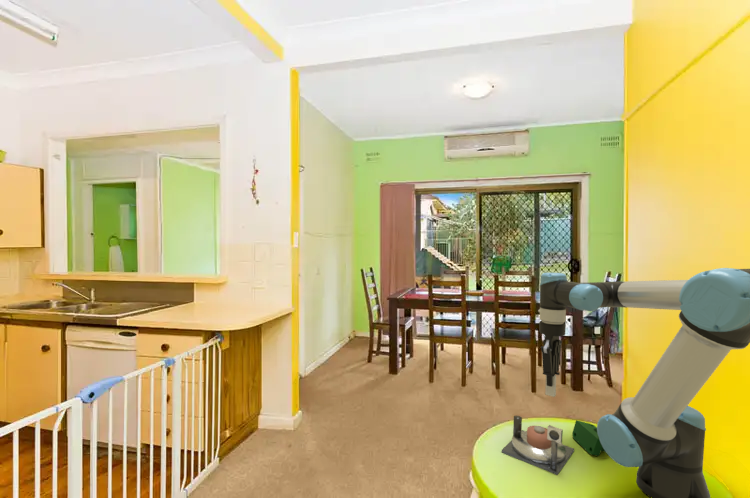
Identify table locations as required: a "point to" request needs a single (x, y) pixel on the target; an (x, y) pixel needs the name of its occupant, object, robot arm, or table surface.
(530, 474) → the table surface
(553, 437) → the turntable base
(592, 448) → the clamp
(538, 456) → the turntable
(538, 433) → the cover
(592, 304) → the robot arm
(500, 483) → the table surface
